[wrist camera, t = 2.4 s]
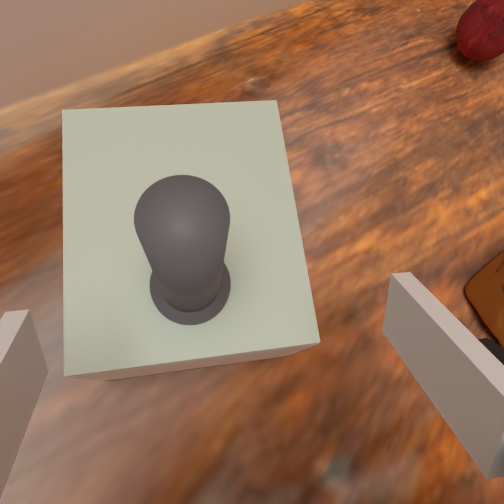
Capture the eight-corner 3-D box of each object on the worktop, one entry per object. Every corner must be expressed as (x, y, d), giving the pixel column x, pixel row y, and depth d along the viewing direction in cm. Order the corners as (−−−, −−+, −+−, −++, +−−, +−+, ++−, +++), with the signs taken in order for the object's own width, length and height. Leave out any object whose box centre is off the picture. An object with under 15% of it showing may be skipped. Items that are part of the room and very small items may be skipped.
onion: (488, 84, 45) (546, 23, 38) (437, 67, 45) (484, 2, 38) (494, 44, 47) (550, -22, 39) (445, 27, 47) (492, -42, 39)
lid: (68, 376, 22) (-46, 366, 12) (66, 117, 27) (-18, -48, 17) (316, 343, 24) (399, 311, 14) (274, 107, 29) (313, -46, 19)
